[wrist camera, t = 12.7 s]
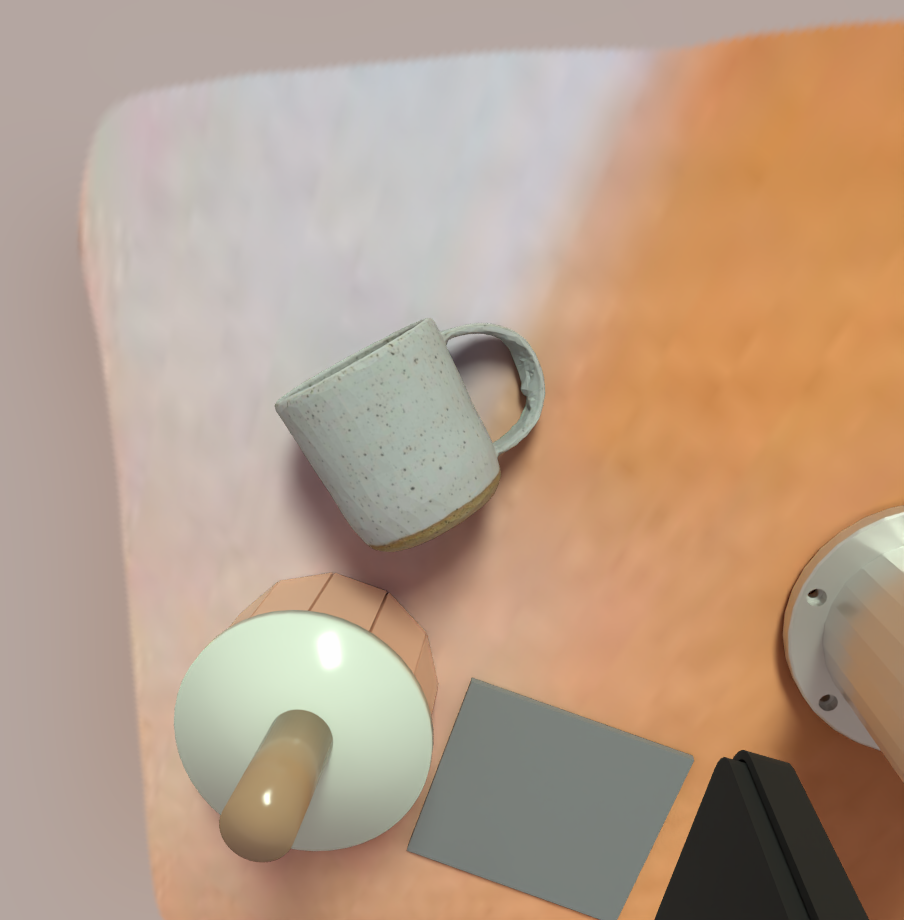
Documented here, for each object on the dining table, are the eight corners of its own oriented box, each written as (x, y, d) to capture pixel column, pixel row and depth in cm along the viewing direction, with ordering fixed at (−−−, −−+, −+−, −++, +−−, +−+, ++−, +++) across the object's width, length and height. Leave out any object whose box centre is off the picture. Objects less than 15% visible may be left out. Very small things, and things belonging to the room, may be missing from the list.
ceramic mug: (384, 528, 40) (353, 588, 33) (299, 384, 39) (246, 413, 31) (575, 429, 38) (589, 469, 31) (493, 274, 37) (485, 276, 29)
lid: (470, 652, 37) (453, 754, 29) (391, 858, 40) (358, 997, 32) (224, 564, 37) (144, 643, 29) (165, 776, 40) (80, 895, 33)
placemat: (692, 755, 41) (694, 760, 41) (613, 918, 44) (614, 924, 44) (471, 677, 42) (471, 681, 41) (407, 845, 44) (406, 850, 44)
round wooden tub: (463, 617, 41) (453, 666, 36) (398, 792, 44) (381, 859, 39) (258, 545, 41) (221, 584, 36) (208, 724, 44) (167, 782, 39)
